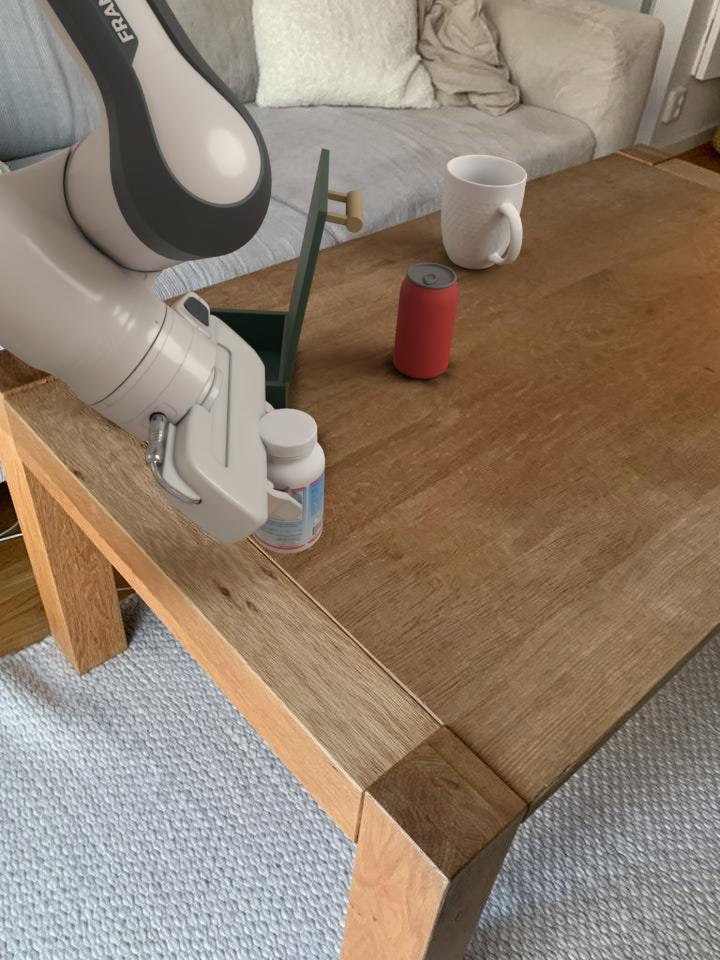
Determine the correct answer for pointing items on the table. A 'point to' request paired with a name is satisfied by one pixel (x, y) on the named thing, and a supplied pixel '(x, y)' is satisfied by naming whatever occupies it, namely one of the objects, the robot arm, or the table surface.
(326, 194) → the box lid
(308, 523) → the pill bottle
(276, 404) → the box
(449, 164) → the mug
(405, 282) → the beer can
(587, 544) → the table surface
